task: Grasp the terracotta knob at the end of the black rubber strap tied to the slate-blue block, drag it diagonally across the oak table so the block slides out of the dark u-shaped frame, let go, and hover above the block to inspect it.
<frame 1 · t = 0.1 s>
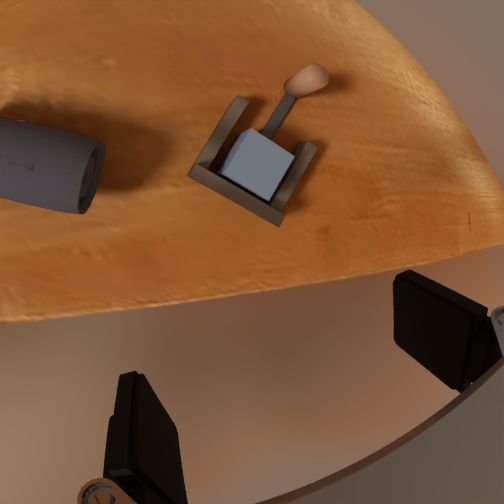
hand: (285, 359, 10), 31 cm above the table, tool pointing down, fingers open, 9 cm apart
dark u-shaped frame: (253, 155, 38), on the table
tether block: (247, 165, 39), on the table
bluetooth speaker: (31, 159, 31), on the table
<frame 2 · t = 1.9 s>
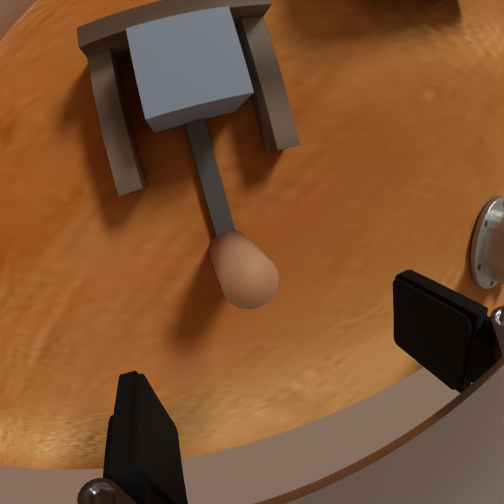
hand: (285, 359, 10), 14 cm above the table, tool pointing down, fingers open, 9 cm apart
dark u-shaped frame: (189, 103, 20), on the table
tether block: (185, 84, 19), on the table
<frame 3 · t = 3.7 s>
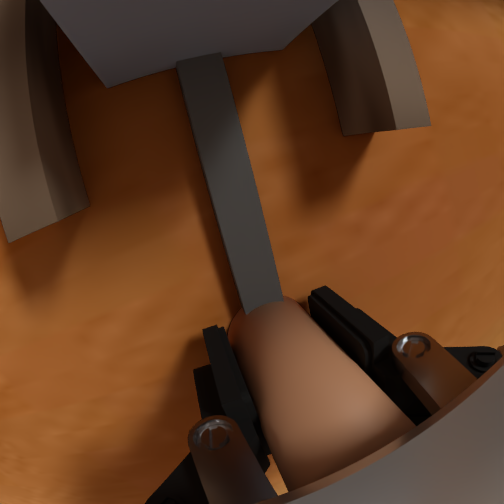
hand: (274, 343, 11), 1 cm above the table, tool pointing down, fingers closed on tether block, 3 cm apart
dark u-shaped frame: (187, 27, 8), on the table
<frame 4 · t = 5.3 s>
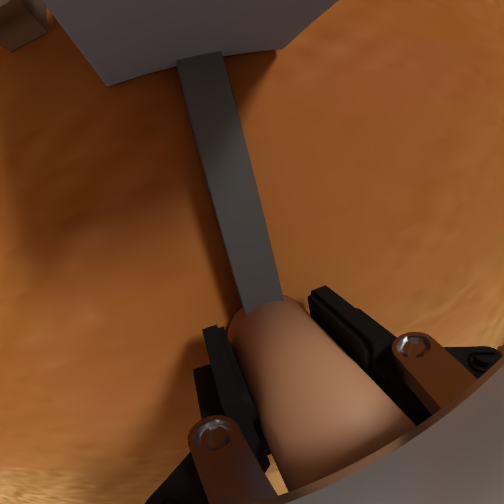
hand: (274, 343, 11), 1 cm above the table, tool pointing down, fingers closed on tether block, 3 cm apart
when the fingers open (1 cm above the table, at t = 7.1 s): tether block stays where it is, on the table.
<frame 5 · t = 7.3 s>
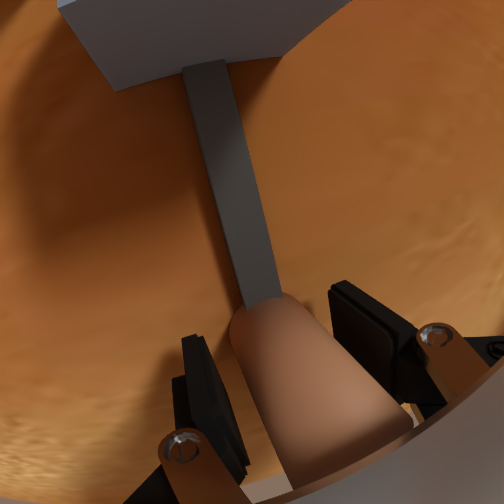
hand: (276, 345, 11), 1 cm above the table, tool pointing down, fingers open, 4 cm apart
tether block: (184, 2, 8), on the table
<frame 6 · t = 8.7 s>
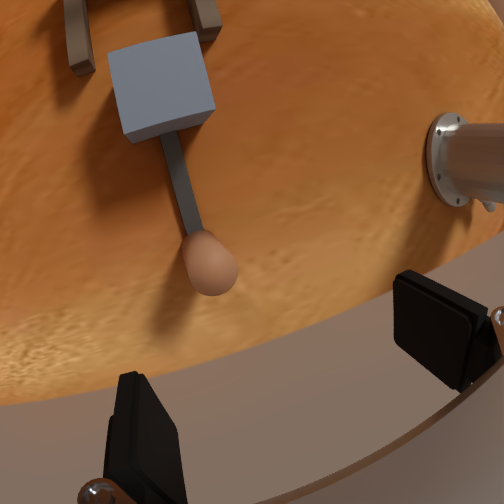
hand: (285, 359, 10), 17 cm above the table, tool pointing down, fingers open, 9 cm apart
dark u-shaped frame: (137, 11, 19), on the table
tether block: (159, 100, 22), on the table
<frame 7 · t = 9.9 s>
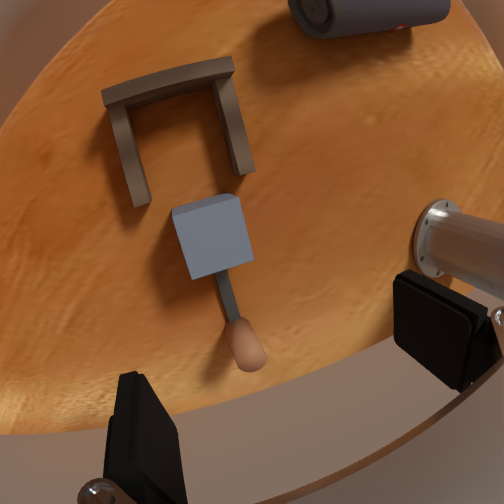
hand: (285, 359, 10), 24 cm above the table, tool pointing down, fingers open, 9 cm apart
dark u-shaped frame: (180, 141, 29), on the table
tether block: (206, 227, 33), on the table
bluetooth speaker: (357, 13, 30), on the table
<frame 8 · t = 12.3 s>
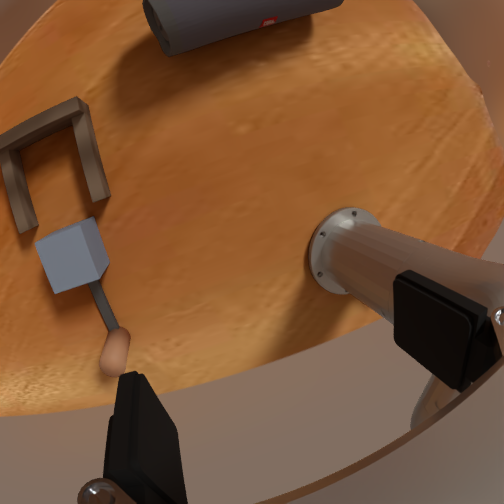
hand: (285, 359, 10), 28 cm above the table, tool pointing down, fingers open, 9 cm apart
dark u-shaped frame: (56, 173, 30), on the table
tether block: (80, 247, 33), on the table
bluetooth speaker: (239, 15, 30), on the table
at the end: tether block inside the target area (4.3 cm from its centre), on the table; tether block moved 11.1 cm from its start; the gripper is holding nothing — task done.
